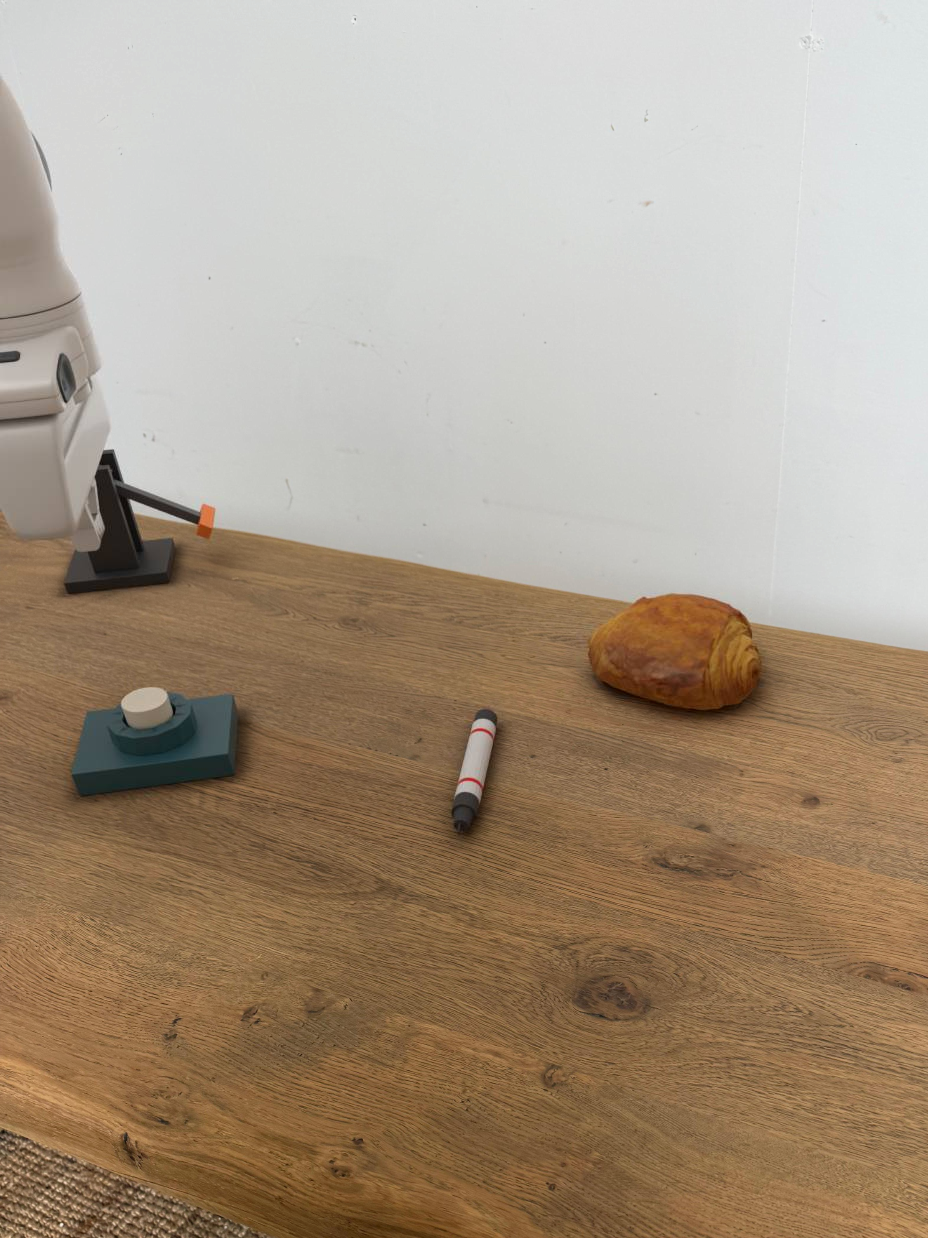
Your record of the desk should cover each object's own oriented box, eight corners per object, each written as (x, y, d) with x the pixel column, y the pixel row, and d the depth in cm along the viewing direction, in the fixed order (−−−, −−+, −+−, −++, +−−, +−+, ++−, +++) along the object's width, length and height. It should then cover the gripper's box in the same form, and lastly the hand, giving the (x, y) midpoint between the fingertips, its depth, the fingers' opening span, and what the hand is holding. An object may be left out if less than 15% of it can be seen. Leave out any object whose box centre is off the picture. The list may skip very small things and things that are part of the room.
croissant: (713, 757, 100) (727, 683, 94) (561, 685, 105) (566, 610, 99) (788, 673, 109) (805, 601, 103) (645, 611, 114) (654, 538, 108)
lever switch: (210, 523, 124) (217, 503, 123) (207, 544, 121) (214, 524, 119) (78, 473, 118) (84, 452, 117) (71, 493, 115) (77, 472, 113)
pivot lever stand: (175, 547, 127) (144, 440, 119) (169, 582, 121) (136, 471, 113) (78, 558, 125) (40, 450, 118) (67, 593, 119) (26, 482, 112)
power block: (79, 796, 94) (63, 755, 91) (94, 732, 100) (79, 693, 98) (234, 775, 96) (222, 735, 93) (238, 714, 102) (227, 675, 100)
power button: (124, 732, 94) (118, 714, 93) (129, 708, 97) (123, 690, 96) (171, 726, 95) (165, 708, 93) (175, 702, 97) (169, 684, 96)
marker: (475, 727, 100) (473, 708, 99) (498, 728, 100) (496, 708, 99) (447, 844, 88) (444, 824, 87) (473, 845, 88) (470, 824, 87)
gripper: (3, 304, 84) (67, 489, 93) (-63, 405, 69) (20, 615, 78) (96, 297, 85) (150, 480, 94) (50, 395, 70) (120, 603, 79)
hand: (91, 542), depth 86 cm, fingers closed
